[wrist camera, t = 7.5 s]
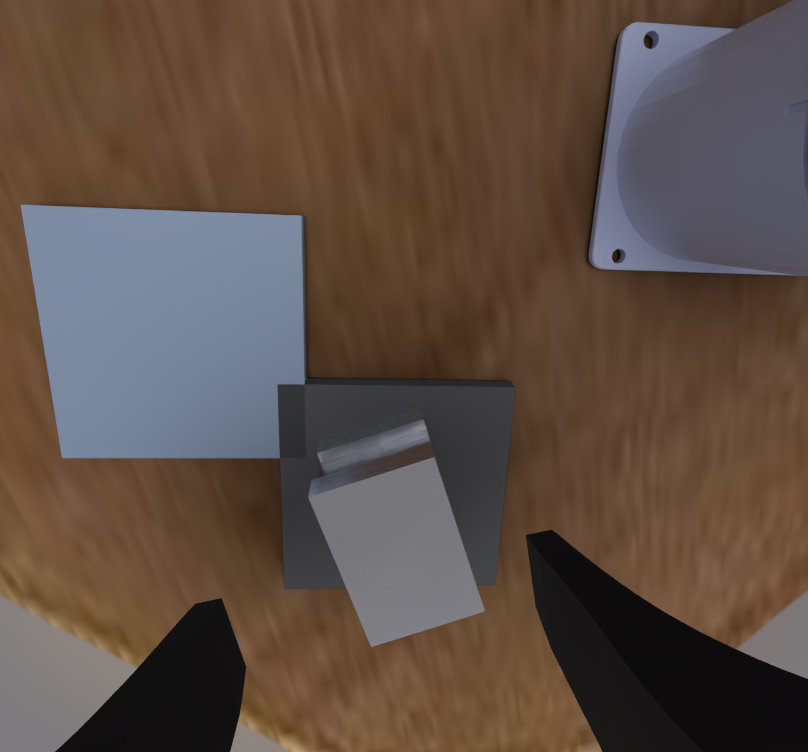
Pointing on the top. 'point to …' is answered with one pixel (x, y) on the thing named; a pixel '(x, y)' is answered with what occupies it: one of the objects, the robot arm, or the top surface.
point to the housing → (393, 527)
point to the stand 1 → (168, 328)
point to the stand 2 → (451, 440)
